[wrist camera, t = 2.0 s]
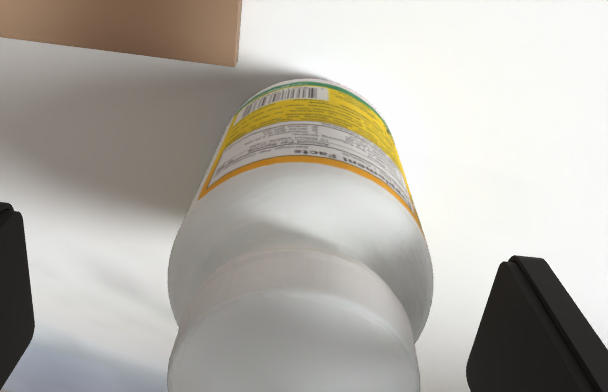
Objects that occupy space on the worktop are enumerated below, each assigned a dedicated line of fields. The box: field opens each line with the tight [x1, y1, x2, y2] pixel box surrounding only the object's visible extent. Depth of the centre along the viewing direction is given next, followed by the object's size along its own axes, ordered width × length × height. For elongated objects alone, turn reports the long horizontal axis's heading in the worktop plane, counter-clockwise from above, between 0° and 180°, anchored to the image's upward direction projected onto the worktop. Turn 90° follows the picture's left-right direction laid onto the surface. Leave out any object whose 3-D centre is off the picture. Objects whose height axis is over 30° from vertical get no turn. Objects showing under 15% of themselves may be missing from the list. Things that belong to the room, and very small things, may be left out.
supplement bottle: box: [167, 79, 433, 392], centre depth 14 cm, size 6×6×10 cm
